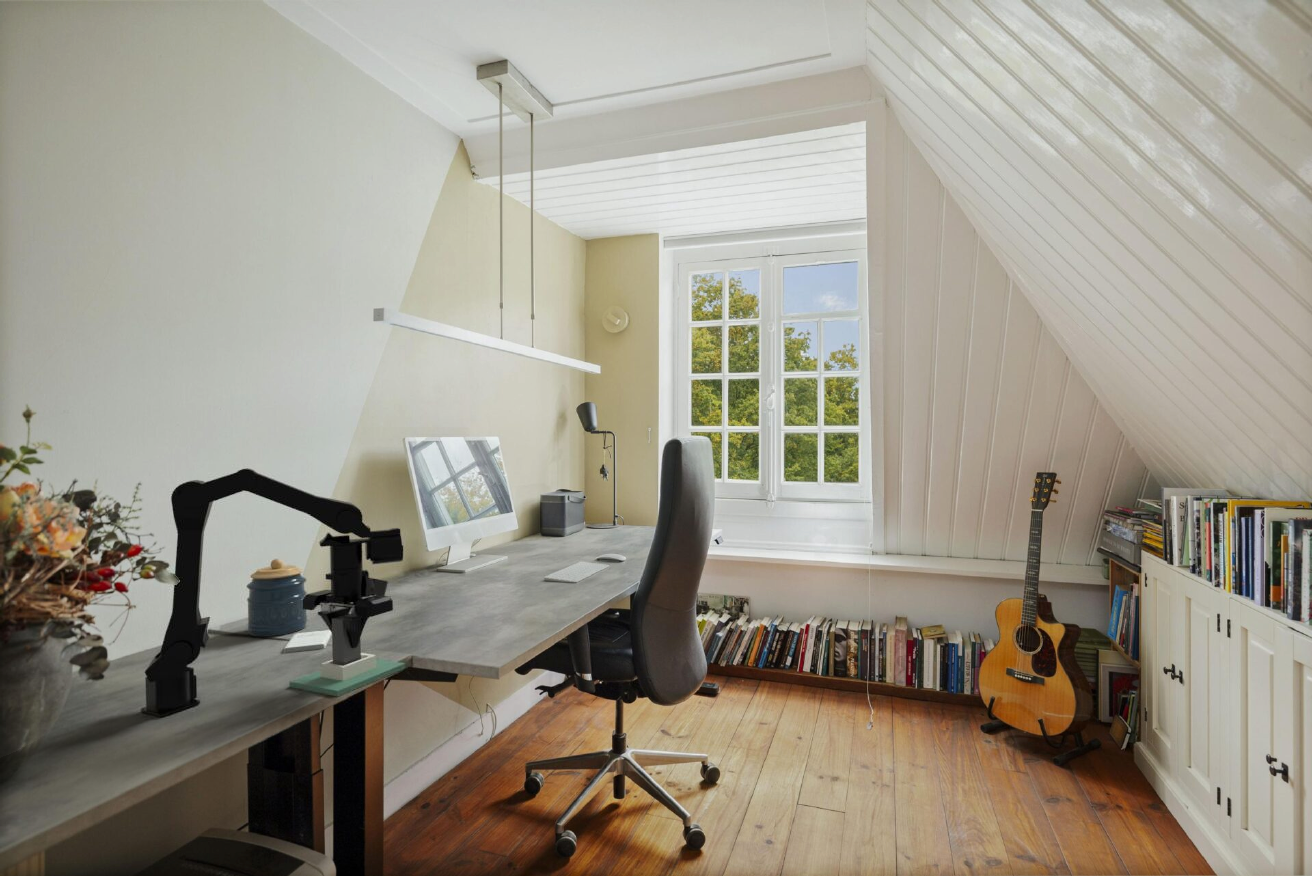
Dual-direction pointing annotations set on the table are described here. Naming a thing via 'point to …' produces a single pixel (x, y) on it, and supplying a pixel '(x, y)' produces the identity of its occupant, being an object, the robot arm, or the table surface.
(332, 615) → the robot arm
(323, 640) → the external hard drive
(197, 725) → the table surface
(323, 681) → the board
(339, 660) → the plug
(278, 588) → the canister
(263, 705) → the table surface
